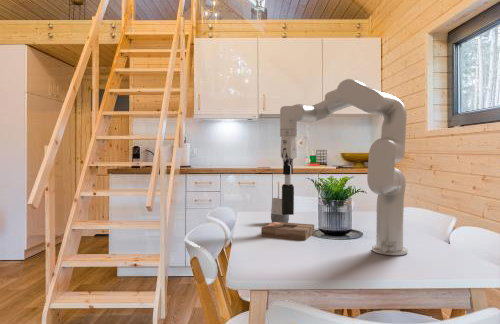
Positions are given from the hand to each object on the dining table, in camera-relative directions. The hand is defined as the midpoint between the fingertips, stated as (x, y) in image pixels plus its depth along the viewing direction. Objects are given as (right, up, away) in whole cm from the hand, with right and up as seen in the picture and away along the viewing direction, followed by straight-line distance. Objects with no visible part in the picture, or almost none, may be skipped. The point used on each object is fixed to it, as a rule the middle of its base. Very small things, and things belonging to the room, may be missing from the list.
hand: (288, 173), depth 175 cm
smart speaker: (-2, -27, +27) cm, 39 cm away
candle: (0, -18, +1) cm, 18 cm away
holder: (0, -28, 0) cm, 28 cm away
